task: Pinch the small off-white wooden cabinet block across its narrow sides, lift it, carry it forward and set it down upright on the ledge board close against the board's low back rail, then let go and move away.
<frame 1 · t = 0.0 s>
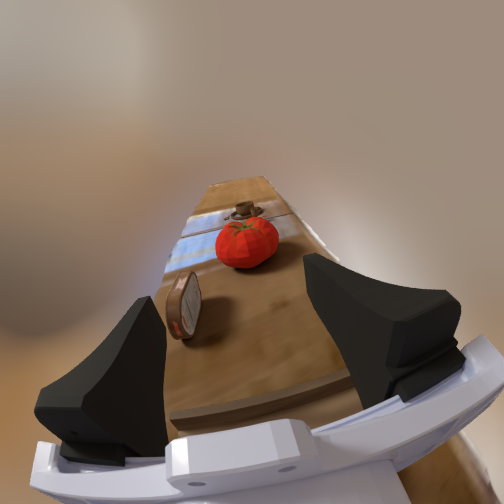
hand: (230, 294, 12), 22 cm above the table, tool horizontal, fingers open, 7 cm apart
tin: (193, 322, 49), on the table
place setting: (244, 220, 102), on the table
tomato: (252, 261, 67), on the table
ledge board: (279, 435, 25), on the table
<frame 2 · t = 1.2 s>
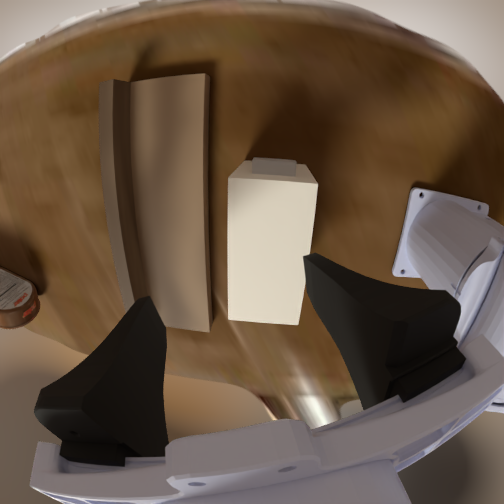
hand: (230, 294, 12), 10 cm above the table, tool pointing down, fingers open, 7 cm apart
tin: (17, 277, 29), on the table
cabinet block: (271, 218, 22), on the table
ledge board: (167, 213, 22), on the table
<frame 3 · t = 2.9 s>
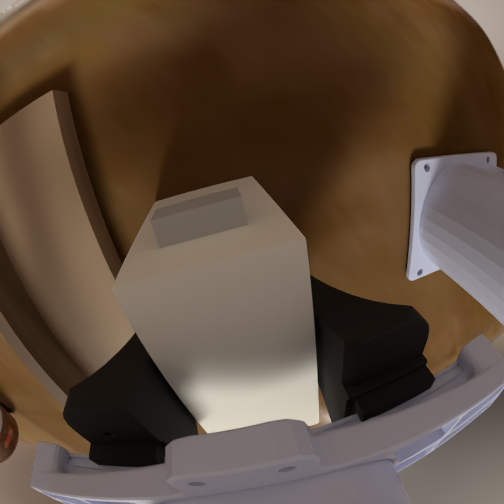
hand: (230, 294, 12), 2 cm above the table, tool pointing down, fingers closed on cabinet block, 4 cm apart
cabinet block: (226, 272, 14), on the table, touching gripper
ledge board: (86, 307, 14), on the table
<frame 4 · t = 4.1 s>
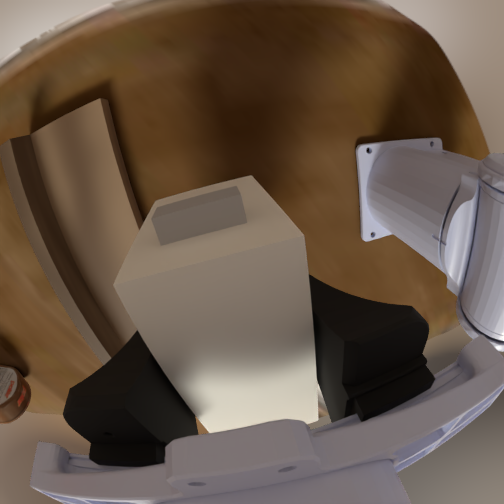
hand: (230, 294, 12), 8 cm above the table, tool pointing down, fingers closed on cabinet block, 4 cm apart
cabinet block: (226, 271, 14), point 6 cm above the table, touching gripper
ledge board: (111, 258, 19), on the table
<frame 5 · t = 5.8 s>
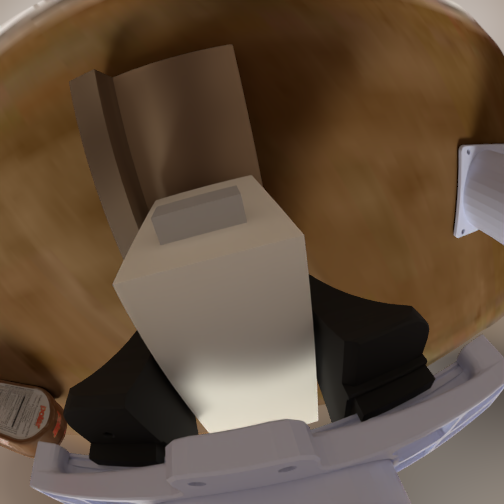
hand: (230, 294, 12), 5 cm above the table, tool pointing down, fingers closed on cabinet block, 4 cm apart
tin: (21, 386, 20), on the table
cabinet block: (226, 271, 14), point 2 cm above the table, touching gripper
ledge board: (211, 253, 16), on the table
when the fingers open (4 cm above the table, at t = 6.3 s): cabinet block stays where it is, resting on ledge board.
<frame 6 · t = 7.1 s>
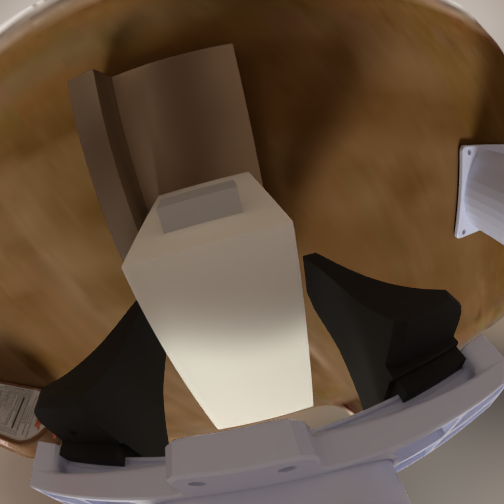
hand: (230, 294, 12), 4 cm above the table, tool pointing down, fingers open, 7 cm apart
tin: (21, 386, 20), on the table
cabinet block: (225, 263, 15), point 1 cm above the table, touching ledge board
ledge board: (211, 254, 16), on the table
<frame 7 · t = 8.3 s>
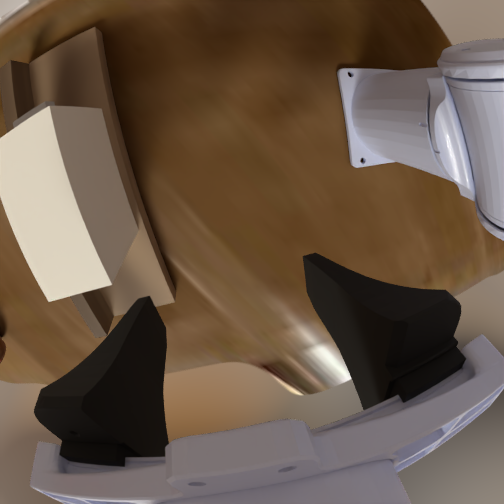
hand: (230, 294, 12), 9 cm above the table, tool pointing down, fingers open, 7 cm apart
cabinet block: (90, 181, 16), point 1 cm above the table, touching ledge board
ledge board: (90, 180, 17), on the table
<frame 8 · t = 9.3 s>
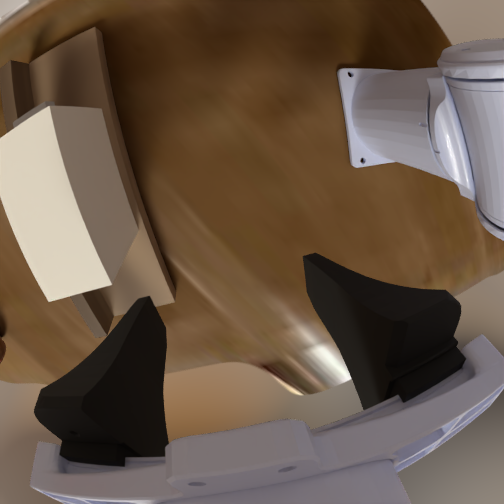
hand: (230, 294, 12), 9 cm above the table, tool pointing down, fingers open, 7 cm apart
cabinet block: (90, 181, 16), point 1 cm above the table, touching ledge board
ledge board: (90, 180, 17), on the table
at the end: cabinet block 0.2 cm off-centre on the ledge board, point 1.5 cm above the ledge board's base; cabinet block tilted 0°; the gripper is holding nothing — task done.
